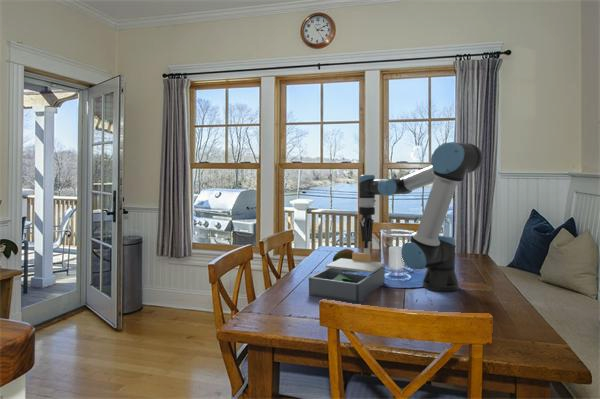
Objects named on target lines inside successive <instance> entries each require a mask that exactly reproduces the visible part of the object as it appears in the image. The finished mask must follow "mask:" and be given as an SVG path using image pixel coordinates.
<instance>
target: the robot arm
mask: <svg viewBox="0 0 600 399" xmlns="http://www.w3.org/2000/svg"><path fill="white" fill-rule="evenodd" d="M430 157H431V158H430V163H431V165H429V166H426V167H424V168H422V169H419V170H416V171H415V172H412V173H410V174H407V175H405V176H402V177H399V178H376V176H375V175H374V174H360V175H359V179H358V180H359V181H358V185H359V186H358V189H359V190H358V192H359V193H358V194H359V195H358V196H359V197H358V206H359V208H358V209H359V210H358V213H359V215H361V216H362V218H361V221H360V222H359V225H360V233H361V242H363V253H365V254H371V242H372V241H373V240H372V239H373V226H374V221H375V220H374V219H373V218H372V216H374V215H375V214H376V207H375V205H376V201H377V200H376V195H377V196H384V197H386V196H387V197H388V196H392V195H407V194H410V193H412V192H413V191H415V190H417V189H420V188H423V187H427V186H428V185H431V184H432V185H431V188H430V192H429V194H428V197H427V200H426V204H425V206H424V210H423V212H422V215H421V217H420V218H421V219H420V222H419V224H418V228H417V230H416V231H414V232H412V233H411V234H412V235H410V236H411V237H410V240H409V241H407V242H406V243H404V244H403V245H402V247H401V257H402V258H403V260H404V261H403V262H405V264H406V265H407V266H408V267H409V268H410V269H412V270H424V269H426V270H425V274H424V277H423V279H422V287H423V288H424V289H426V290H430V291H433V292H441V293H442V292H443V293H448V292H449V293H451V292H455V291H459V290H460V283H459V279H458V276H457V272H456V247H457V246H456V239H455V238H454V237H453V236H448V235H440V233H441V231H442V228H443V225H444V222H445V220H446V217H447V214H448V210H449V208H450V205H451V202H452V199H453V196H454V194H455V190H456V189H457V185H458V184H460V183H462V182H463V181H464V177H465V175H467V174H470V173H474V172H475V171H478V170H479V169H480V167H481V166H482V165H483V161H484V154H483V152H482V149H480V147H478V146H477V145H475V144H473V143H468V142H467V143H464V142H456V141H455V142H454V141H450V142H443V143H442V144H439V145H438V146H436V148H435V149H434V150H433V152H432V153H431V156H430ZM402 258H401V259H402ZM405 264H404V265H405Z"/></svg>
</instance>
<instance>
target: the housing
mask: <svg viewBox="0 0 600 399" xmlns="http://www.w3.org/2000/svg"><path fill="white" fill-rule="evenodd" d="M385 269H386V267H385V266H382V267H381V268H379V269H378V270H376V271H375V272H373V273H369V275H361V274H352V273H346V272H344V270H342V269H333V268H325V269H324V270H321V271H319V272H317V273H315V274H313V275H312V276H309V277H308V296H312V297H316V298H317V297H318V298H324V299H329V300H337V301H341V302H347V303H348V302H349V303H355V304H360V302H362V301H363V300H365V299H366V298H367V297H368V296H370V295H372V293H374V292H375V291H376V290H377V289H379V288H380V287H381V286H382V285H384V284H385V283H384V282H386V280H385V273H386V272H385ZM339 274H342V275H345V276H348V277H350V278H352V282H351V283H350V282H343V281H335V280H333V279H334V278H335V277H337V276H338V275H339ZM383 283H384V284H383Z"/></svg>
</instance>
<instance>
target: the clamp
mask: <svg viewBox="0 0 600 399" xmlns="http://www.w3.org/2000/svg"><path fill="white" fill-rule="evenodd" d="M333 280H335V281H343V282H350V283H351V282H352V278H350V277H348V276H345V275H342V274H339V275H338V276H337V277H335V278H334V279H333Z"/></svg>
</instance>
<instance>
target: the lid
mask: <svg viewBox="0 0 600 399" xmlns="http://www.w3.org/2000/svg"><path fill="white" fill-rule="evenodd" d="M381 267H385V262H381V261H380V262H379V261H372V253H370V254H365V253H364V252H355V251H354V252H353V253H352V259H343V258H340V259H338V260H336V261H334V262H333V261H331V262H330V263H327V264H326V265H325V269H327V268H333V269H342V270H343V271H350V272H351V271H352V272H359V273H367V274H372V273H374V272H375V271H377V270H378V269H380V268H381Z"/></svg>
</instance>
